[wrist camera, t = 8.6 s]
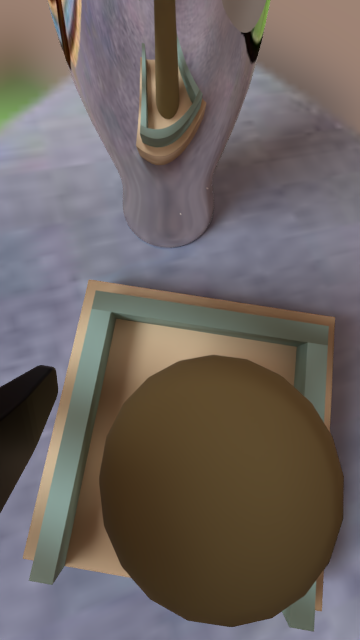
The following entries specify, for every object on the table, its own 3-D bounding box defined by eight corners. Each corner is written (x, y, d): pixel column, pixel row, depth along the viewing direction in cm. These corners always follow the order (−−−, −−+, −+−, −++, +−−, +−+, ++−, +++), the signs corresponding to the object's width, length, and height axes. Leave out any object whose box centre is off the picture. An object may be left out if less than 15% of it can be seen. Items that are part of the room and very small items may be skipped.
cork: (204, 346, 17) (250, 265, 6) (277, 440, 16) (480, 530, 5) (112, 417, 16) (-13, 459, 6) (183, 521, 15) (200, 825, 4)
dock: (304, 585, 16) (338, 635, 13) (40, 539, 17) (5, 576, 13) (319, 324, 20) (349, 310, 16) (97, 290, 20) (81, 269, 16)
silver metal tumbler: (97, 226, 21) (-84, -162, 6) (148, 148, 22) (96, -314, 8) (190, 272, 20) (228, -42, 6) (237, 188, 22) (361, -233, 7)
